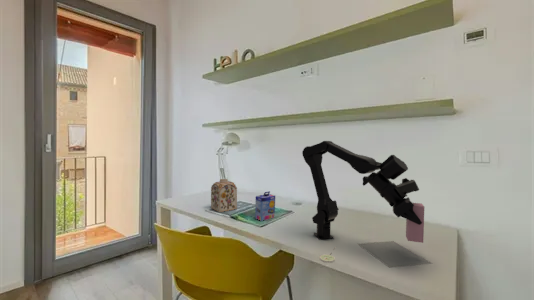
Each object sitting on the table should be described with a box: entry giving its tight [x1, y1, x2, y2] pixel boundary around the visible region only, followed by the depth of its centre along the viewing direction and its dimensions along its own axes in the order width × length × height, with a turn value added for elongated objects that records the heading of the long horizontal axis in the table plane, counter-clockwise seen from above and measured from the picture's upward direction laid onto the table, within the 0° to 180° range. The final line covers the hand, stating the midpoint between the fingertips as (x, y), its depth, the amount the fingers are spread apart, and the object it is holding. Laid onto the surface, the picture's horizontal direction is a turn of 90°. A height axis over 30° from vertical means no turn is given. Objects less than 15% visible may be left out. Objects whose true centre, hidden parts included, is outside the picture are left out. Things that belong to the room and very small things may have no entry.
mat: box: [357, 240, 432, 268], centre depth 91 cm, size 19×16×1 cm
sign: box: [319, 247, 336, 264], centre depth 91 cm, size 5×1×15 cm
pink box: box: [405, 202, 425, 244], centre depth 85 cm, size 5×4×12 cm
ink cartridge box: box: [254, 191, 276, 222], centre depth 132 cm, size 10×6×14 cm, turn 132°
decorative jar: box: [210, 178, 238, 213], centre depth 150 cm, size 12×12×18 cm
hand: (419, 221), depth 85 cm, fingers closed on pink box, 4 cm apart
